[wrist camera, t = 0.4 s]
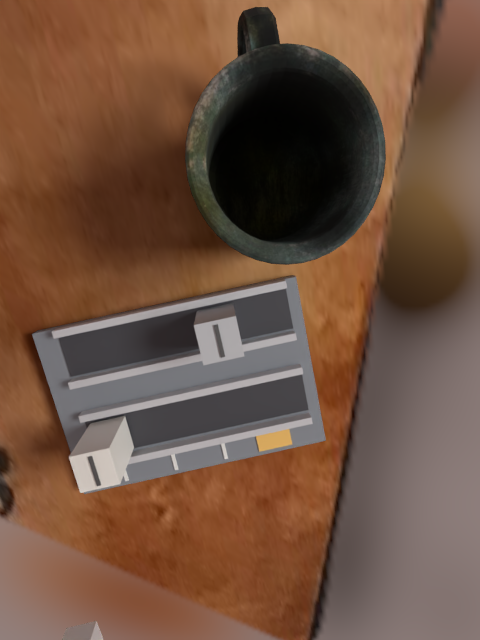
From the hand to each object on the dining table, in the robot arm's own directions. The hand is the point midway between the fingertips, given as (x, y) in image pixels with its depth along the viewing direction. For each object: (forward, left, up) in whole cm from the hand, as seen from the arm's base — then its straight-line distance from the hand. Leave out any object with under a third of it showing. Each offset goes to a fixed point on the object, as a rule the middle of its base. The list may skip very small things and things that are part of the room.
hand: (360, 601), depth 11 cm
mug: (-14, +3, -27) cm, 31 cm away
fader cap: (+5, -14, -25) cm, 30 cm away
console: (+3, -7, -27) cm, 28 cm away
